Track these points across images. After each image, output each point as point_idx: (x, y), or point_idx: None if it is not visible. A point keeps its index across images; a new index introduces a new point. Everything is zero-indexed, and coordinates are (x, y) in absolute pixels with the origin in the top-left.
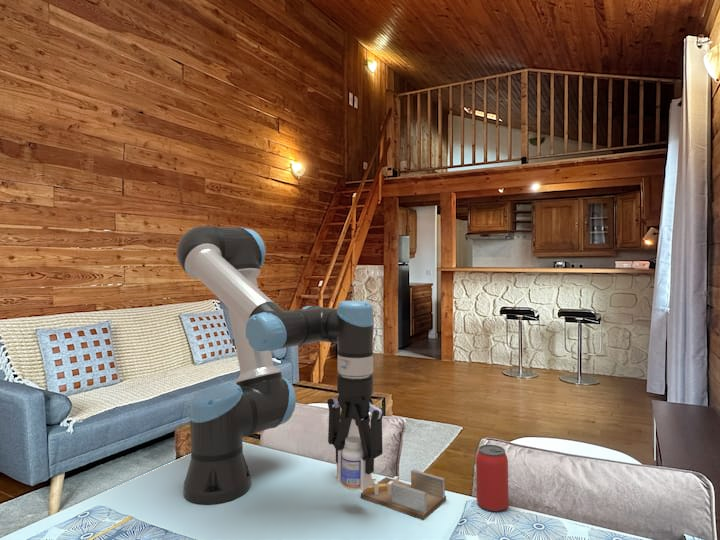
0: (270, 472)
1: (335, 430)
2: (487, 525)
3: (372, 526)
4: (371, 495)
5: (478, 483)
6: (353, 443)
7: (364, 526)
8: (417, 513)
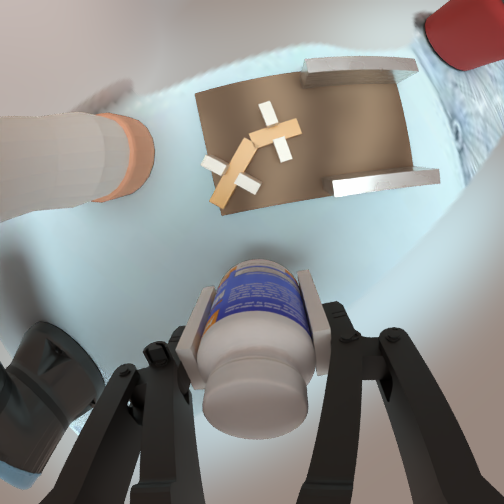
0: (37, 282)
1: (132, 429)
2: (484, 120)
3: (344, 282)
4: (252, 201)
5: (471, 48)
6: (287, 432)
7: (331, 294)
8: None
